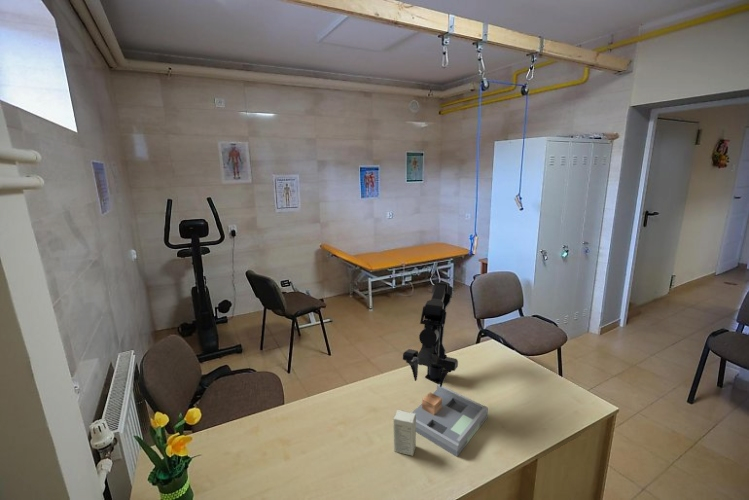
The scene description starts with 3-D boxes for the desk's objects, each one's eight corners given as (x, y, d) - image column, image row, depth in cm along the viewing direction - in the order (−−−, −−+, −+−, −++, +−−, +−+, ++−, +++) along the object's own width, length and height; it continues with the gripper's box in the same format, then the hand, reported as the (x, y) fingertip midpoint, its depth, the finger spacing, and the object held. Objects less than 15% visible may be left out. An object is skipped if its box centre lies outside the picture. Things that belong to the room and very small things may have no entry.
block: (421, 408, 123) (422, 399, 122) (429, 401, 127) (429, 392, 126) (434, 415, 120) (434, 405, 119) (441, 407, 123) (441, 398, 122)
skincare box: (416, 445, 110) (417, 413, 106) (412, 456, 106) (414, 423, 102) (396, 440, 112) (397, 408, 108) (392, 451, 108) (393, 418, 104)
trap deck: (404, 424, 118) (404, 412, 117) (437, 393, 134) (438, 381, 133) (456, 456, 105) (457, 443, 104) (487, 417, 121) (488, 405, 120)
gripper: (398, 339, 119) (395, 384, 119) (452, 350, 111) (449, 398, 111) (409, 333, 129) (406, 375, 129) (459, 342, 121) (456, 387, 121)
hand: (428, 383), depth 122 cm, fingers open, 9 cm apart
